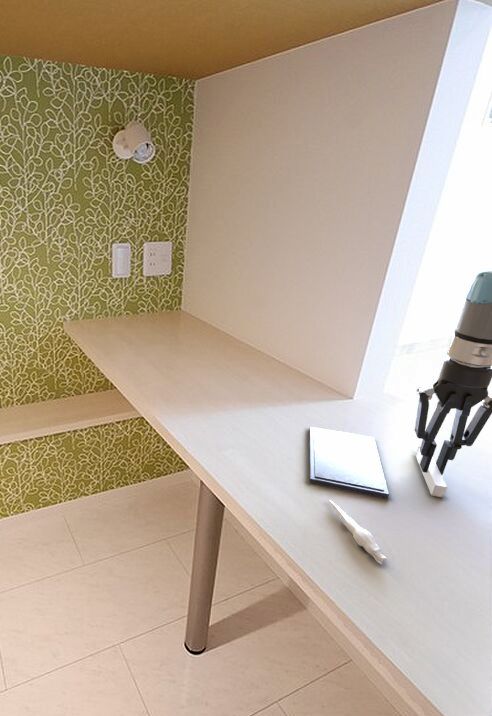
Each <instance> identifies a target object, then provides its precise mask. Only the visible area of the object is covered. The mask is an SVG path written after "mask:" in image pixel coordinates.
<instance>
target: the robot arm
mask: <svg viewBox="0 0 492 716" xmlns="http://www.w3.org/2000/svg"><path fill="white" fill-rule="evenodd" d="M446 355H447V357H445V359H444V361H443V364H442V367H441V369H440V372H439V376H438V379H437V380H436V381H435V382H434V383H433V384H432V386H430V387H426V388H423V387H422V386H421V387H417V389H416V395H417V397H418V404H417V411H416V417H415V425H414V433H415V435H416V438H418V439H420V440H422V441H421V444H420V446H419V447H420V453H421V455H423V457H422V460H421V462H420V466H419V468H420V467H421V468H420V470H421V469H422V471H421V473H422V472H426V473H427V470H428V468H429V466H430V463H431V460H432V457H433V458H434V455H435V452H436V449H437V446H438V445H437V442H436V440H435V439H436V437H437V436H438V433H439V431H440V429H441V428H442V425H443V423H444V421H445V419H446V417H447V416H448V415H449V414H450V412H451V410H452V409H455V415H454V419H453V423H452V427H451V431H450V436H449V440H446V439H444V441H443V443H442V446H441V448H440V451H439V453H438V457H437V459H436V461H435V462H436V465H437V467H438V469H439V471H440V473H441V475H442V476H443V474H444V472H445V469H446V466H447V464H448V461H454V460H455V458H456V455H457V453H458V450H461V449H462V446H466V447H472V446H473V445H474V444H475V441H476V440H477V439H478V437H479V435H480V433H481V432H482V430H483V429H484V427H485V426H486V424H487V422H488V421H489V419H490V417H491V415H492V396H490V395H489V390H488V387H489V386H490V384H491V382H492V268H491V269H485V270H483V271H482V270H481V271H479V272H478V273H476V274H475V275H474V276H473V277H472V278H471V280H470V281H469V283H468V285H467V288H466V294H465V295H464V301H463V305H462V308H461V311H460V314H459V316H458V319H457V323H456V326H455V329H454V332H453V335H452V339H451V341H450V343H449V346H448V349H447V351H446ZM434 394H435V396H436V398H437V400H438V401H437V404H436V408H435V410H434V412H433V414H432V416H431V418H430V420H429V423H428V422H427V421H428V416H429V415H428V414H429V409H430V402H429V401H431V400H432V399H433V395H434ZM479 403H480V406H479V407H478V408H477V409H476V411H475V414H474V415H473V417H472V419H471V420H470V422H469V423H468V425H467V422H468V418H469V416H470V414H471V411H472V408H473V407H475V406H477V405H478V404H479ZM427 423H428V425H427ZM466 425H467V427H466Z"/></svg>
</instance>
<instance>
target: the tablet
mask: <svg viewBox="0 0 492 716" xmlns="http://www.w3.org/2000/svg"><path fill="white" fill-rule="evenodd" d="M308 429H309V431H308V432H309V434H308V435H309V436H308V437H309V438H308V440H309V442H308V443H309V444H308V445H309V447H308V448H309V449H308V450H309V451H308V453H309V454H308V455H309V456H308V458H309V459H308V461H309V464H308V465H309V467H308V468H309V469H308V470H309V471H308V472H309V475H308V476H309V477H308V478H309V479H308V480H309V481H308V482H309V483H310V484H313V485H314V484H315V485H318V486H319V485H320V486H324V487H329V488H334V489H340V490H344V491H349V492H354V493H358V494H364V495H369V496H374V497H378V498H383V499H389V497H390V492H389V489H388V485H387V480H386V477H385V473H384V470H383V466H382V462H381V458H380V454H379V450H378V447H377V443H376V439H375V437H374V436H368V435H363V434H356V433H351V432H344V431H340V430H339V431H338V430H333V429H326V428H322V427H321V428H320V427H315V426H309V428H308Z"/></svg>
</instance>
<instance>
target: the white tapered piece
mask: <svg viewBox="0 0 492 716" xmlns="http://www.w3.org/2000/svg"><path fill="white" fill-rule="evenodd" d="M328 502H329V505H330V506H331V508H332V509H333V511H334V513H336V515H337V516H338V517H339V519H340V520H341V522H342V523H343V525H344V526H345V528H347V530H348V531H349V532H350V533H351V534H352V536H353V539H354V541H355V543H356V544H357V545H359V546H360V547H361V548H362V549H363V550H365V551H366V552H367V554H369V555H371V556H372V557H373V558H374V560H375V561H376V563H377V564H379V565H383V562H386V561H388V560H387V559H388V558H387V557H386V556H385V555H384V554H383V552H382V551H381V548H380V547H379V545H378V544H377V543H376V541H375V539H374V537H373V535H372V533H371V532H369V531H368V530H367V529H365V528H363V527H362V526H360V524H358V523H357V522H356V521H355V520H354V519H353V518H352V517H351V516H349V515H348V514H347V513H346V512H345V511H344V510H343V509H342V508H340V506H338V505H337V504H336V503H335V502H333V501H332V500H330V499H328Z"/></svg>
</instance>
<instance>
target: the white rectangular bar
mask: <svg viewBox="0 0 492 716" xmlns="http://www.w3.org/2000/svg"><path fill="white" fill-rule="evenodd" d="M420 447H421V446H418V448H417V449H416V450H417V451H416V456H415V458H416V460H417V463H418V465H419V468H420V471H421V473H422V476H423V479H424V480H425V483H426V485H427V488H428V490H429V493H430V496H433V497H438V498H444V497H445V494H446V491H447V489H448V486H447V484H446V481H445V479H444V477H443V475H441V473H440V471H439V469H438V467H437V465H436V462H437V461H436V460H435V458H434V456H433V457H432V460H431V463H430V466H429V468H428V470H427V473H426V472H422V469H421V467H420V462H421V460H422V457H423V455H421V453H420Z"/></svg>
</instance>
